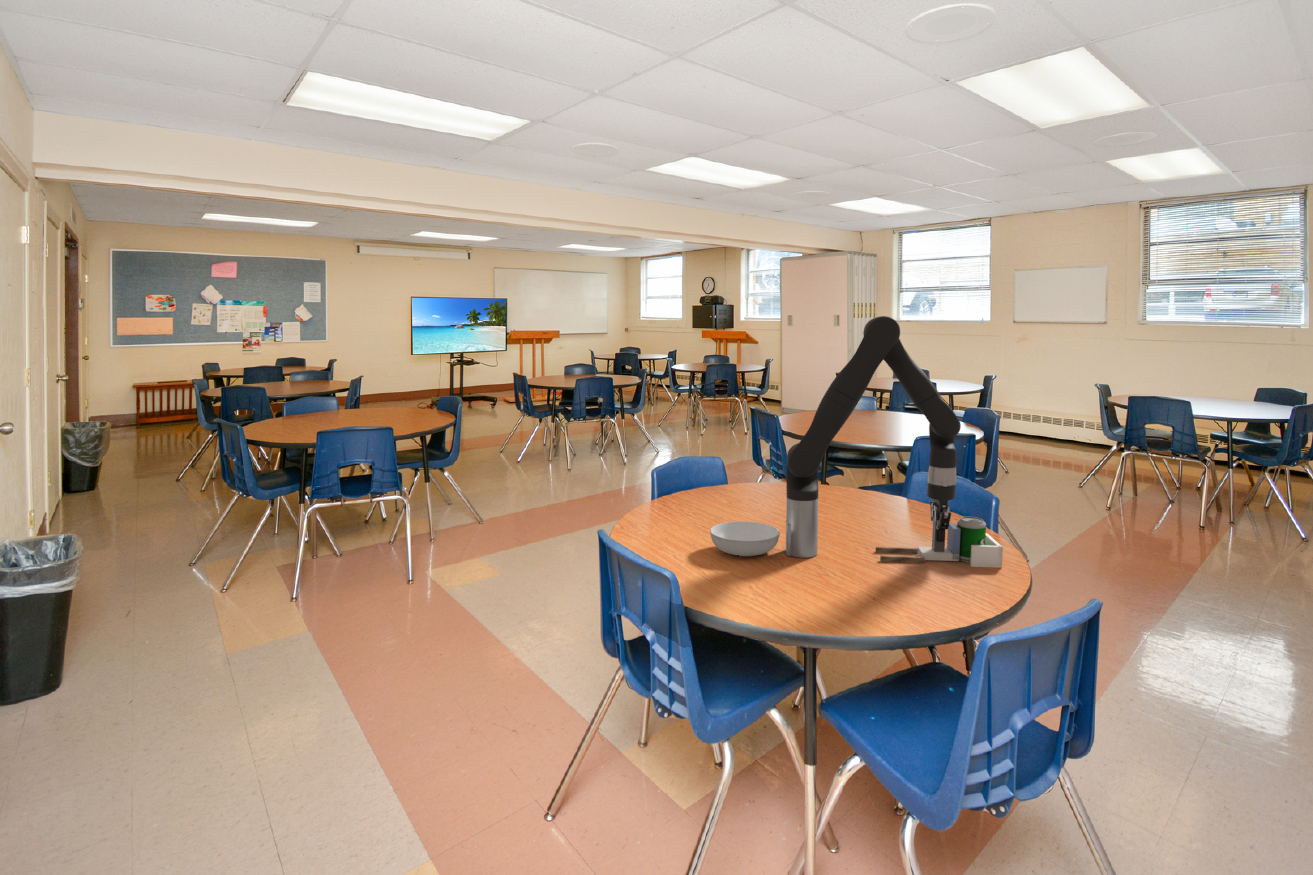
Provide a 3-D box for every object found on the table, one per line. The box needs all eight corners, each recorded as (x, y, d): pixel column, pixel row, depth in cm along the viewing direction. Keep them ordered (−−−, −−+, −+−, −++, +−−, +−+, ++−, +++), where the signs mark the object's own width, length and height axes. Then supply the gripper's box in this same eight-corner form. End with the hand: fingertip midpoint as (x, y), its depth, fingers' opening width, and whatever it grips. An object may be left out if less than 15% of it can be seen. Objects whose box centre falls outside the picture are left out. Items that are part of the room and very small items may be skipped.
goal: (971, 566, 187) (972, 546, 186) (957, 551, 199) (958, 532, 198) (1001, 567, 185) (1003, 546, 184) (986, 552, 198) (987, 533, 197)
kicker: (922, 559, 192) (923, 519, 190) (917, 553, 198) (919, 513, 196) (958, 560, 190) (961, 520, 188) (953, 554, 196) (955, 514, 194)
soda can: (975, 565, 187) (977, 524, 185) (950, 558, 193) (952, 518, 191) (989, 560, 192) (991, 519, 190) (964, 553, 198) (966, 514, 196)
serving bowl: (778, 565, 191) (778, 542, 190) (706, 561, 196) (705, 539, 194) (780, 542, 211) (780, 521, 210) (714, 540, 216) (714, 519, 215)
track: (880, 561, 192) (880, 556, 192) (875, 551, 201) (875, 546, 201) (924, 562, 190) (924, 557, 190) (917, 552, 199) (917, 547, 199)
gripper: (922, 476, 198) (919, 532, 201) (934, 486, 184) (930, 547, 187) (948, 476, 197) (945, 533, 199) (962, 487, 183) (959, 548, 186)
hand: (938, 539), depth 193 cm, fingers closed on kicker, 3 cm apart
